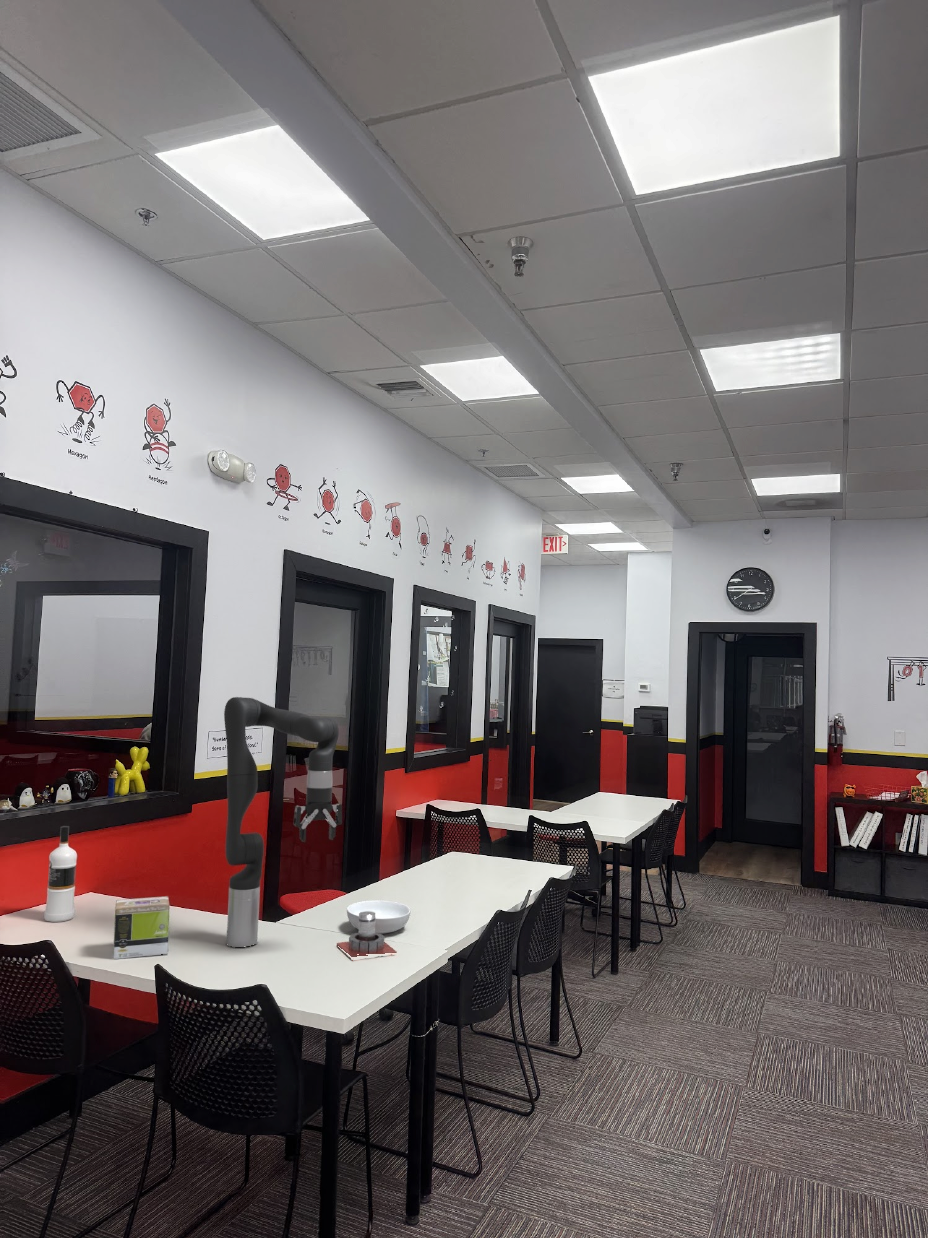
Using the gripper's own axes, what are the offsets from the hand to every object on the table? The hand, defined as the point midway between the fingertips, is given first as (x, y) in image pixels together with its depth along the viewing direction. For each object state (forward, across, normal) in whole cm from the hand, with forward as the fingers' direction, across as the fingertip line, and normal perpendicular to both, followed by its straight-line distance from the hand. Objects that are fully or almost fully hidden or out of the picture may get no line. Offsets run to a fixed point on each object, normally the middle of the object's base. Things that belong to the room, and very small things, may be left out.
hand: (317, 840), depth 254 cm
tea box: (+34, +45, -23) cm, 61 cm away
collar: (+34, -17, 0) cm, 38 cm away
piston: (+33, -17, 0) cm, 37 cm away
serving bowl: (+34, -28, -18) cm, 48 cm away
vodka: (+34, +65, -66) cm, 99 cm away
